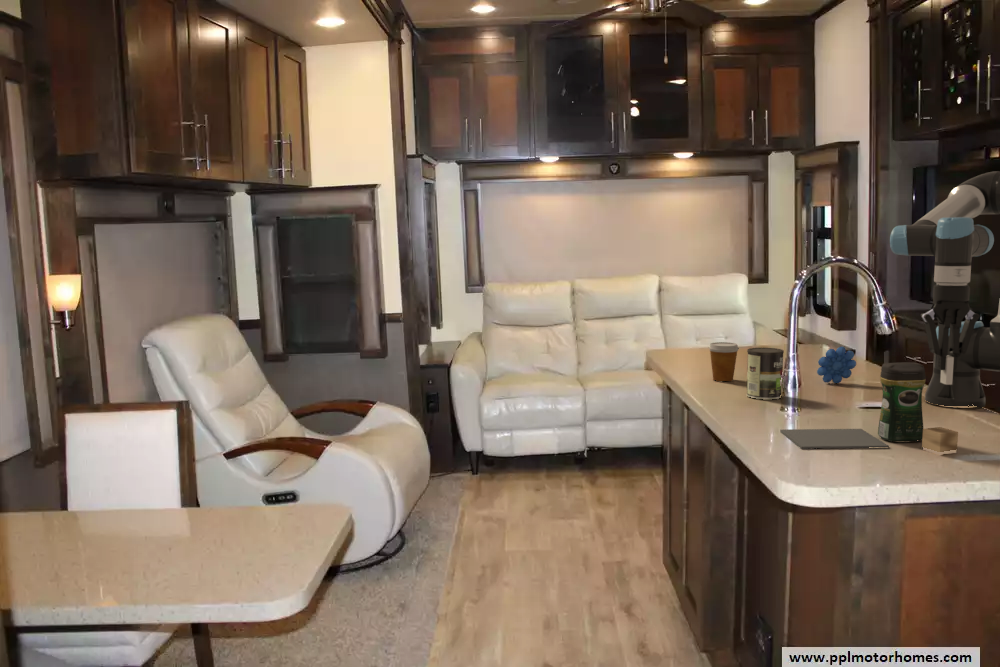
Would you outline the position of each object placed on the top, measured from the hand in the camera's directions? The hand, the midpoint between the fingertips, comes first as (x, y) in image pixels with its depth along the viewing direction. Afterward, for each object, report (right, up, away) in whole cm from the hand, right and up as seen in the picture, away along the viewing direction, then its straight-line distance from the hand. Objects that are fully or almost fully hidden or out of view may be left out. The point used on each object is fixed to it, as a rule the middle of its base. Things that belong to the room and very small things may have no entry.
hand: (946, 383), depth 203 cm
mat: (-26, -14, +2) cm, 29 cm away
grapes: (+1, -4, +70) cm, 70 cm away
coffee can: (-27, -7, +52) cm, 59 cm away
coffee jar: (-10, -14, +2) cm, 17 cm away
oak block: (-6, -15, -9) cm, 19 cm away
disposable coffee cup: (-33, -4, +78) cm, 84 cm away
